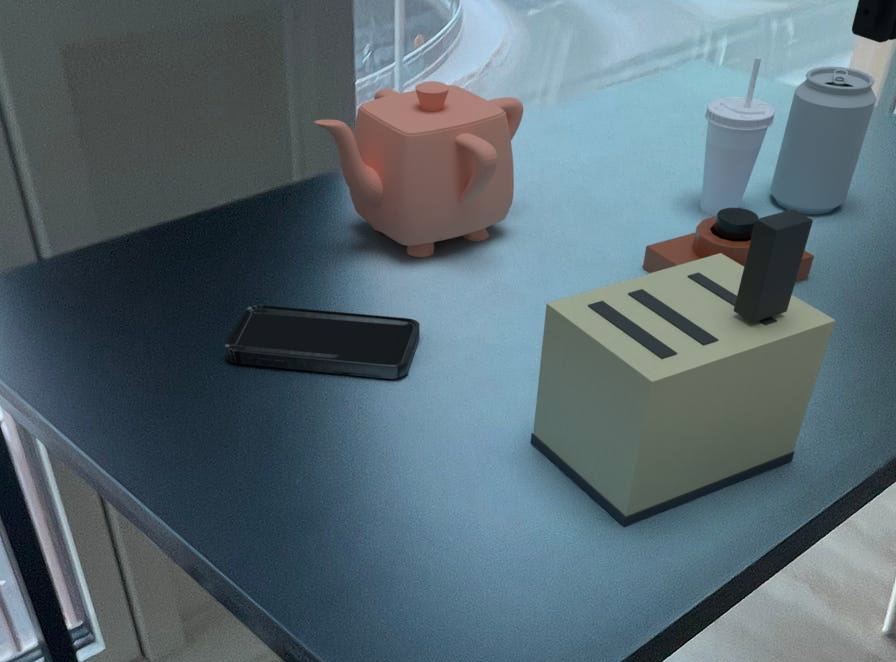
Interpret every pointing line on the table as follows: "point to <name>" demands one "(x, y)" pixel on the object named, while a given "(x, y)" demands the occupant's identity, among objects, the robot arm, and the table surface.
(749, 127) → the smoothie
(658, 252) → the control block
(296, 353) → the phone
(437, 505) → the table surface
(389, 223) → the teapot
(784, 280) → the toaster slider
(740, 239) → the button
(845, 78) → the can
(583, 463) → the toaster
